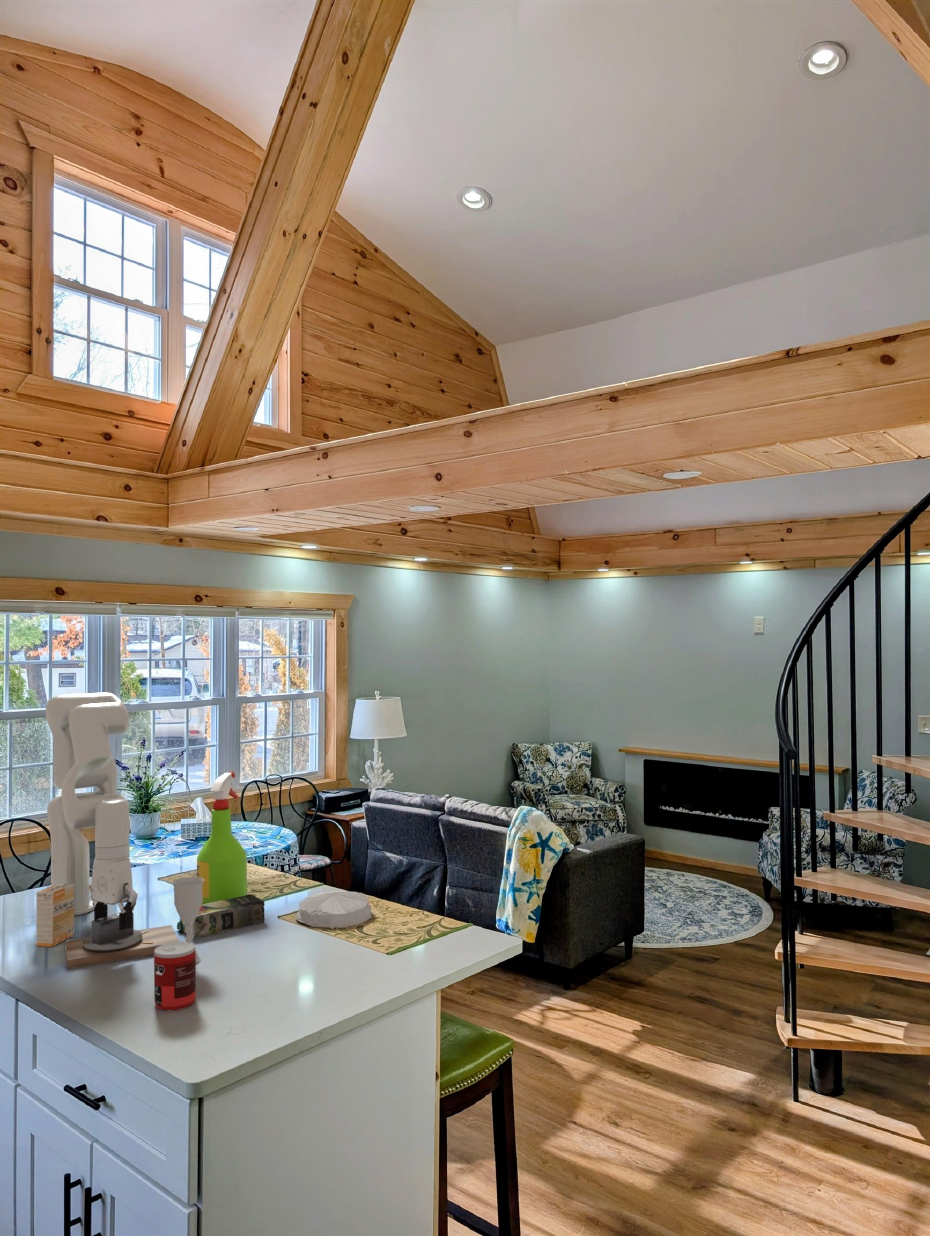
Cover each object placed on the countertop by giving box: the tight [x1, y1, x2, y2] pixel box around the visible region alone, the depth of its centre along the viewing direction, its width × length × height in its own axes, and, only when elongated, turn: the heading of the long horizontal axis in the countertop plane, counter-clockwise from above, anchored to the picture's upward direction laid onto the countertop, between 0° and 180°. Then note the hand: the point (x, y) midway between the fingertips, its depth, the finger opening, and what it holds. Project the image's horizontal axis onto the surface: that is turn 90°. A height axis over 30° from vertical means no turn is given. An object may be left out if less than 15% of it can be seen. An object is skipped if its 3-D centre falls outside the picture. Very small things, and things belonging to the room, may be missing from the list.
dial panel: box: [65, 924, 180, 970], centre depth 205 cm, size 14×24×2 cm, turn 116°
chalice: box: [171, 876, 204, 964], centre depth 197 cm, size 7×7×18 cm
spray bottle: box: [196, 770, 248, 905], centre depth 247 cm, size 14×18×35 cm
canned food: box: [153, 941, 197, 1011], centre depth 174 cm, size 8×8×11 cm
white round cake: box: [294, 890, 373, 929], centre depth 228 cm, size 20×20×7 cm
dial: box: [83, 911, 142, 952], centre depth 204 cm, size 13×13×6 cm
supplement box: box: [35, 883, 75, 948], centre depth 212 cm, size 8×5×13 cm, turn 168°
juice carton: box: [176, 893, 266, 939], centre depth 221 cm, size 20×10×6 cm, turn 127°
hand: (113, 925), depth 204 cm, fingers open, 9 cm apart
